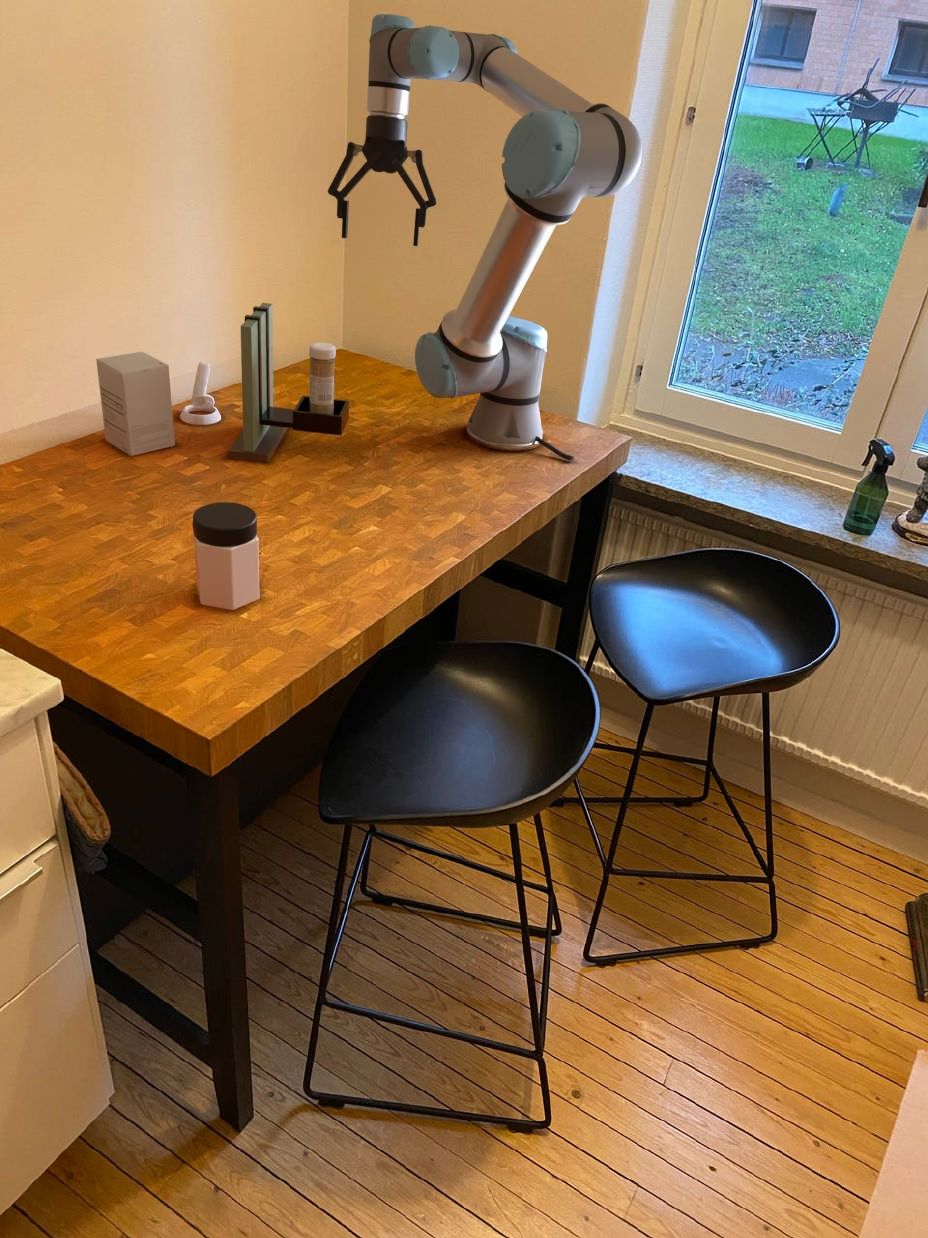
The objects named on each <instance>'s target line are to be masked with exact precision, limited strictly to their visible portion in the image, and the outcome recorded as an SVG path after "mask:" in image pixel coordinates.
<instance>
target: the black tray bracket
mask: <svg viewBox="0 0 928 1238" xmlns="http://www.w3.org/2000/svg"><path fill="white" fill-rule="evenodd" d="M256 310H257V311H266V373H267V409H266V410H265V412H264V413H263V415H262V356H261V316H252V314H253V313H254V312H255V311H256ZM252 314H245V316H244V322H245V321H246V320H247V319H250V320H258V373H259V425H268V426H277V427H286V428H288V429H292V431H299V432H306V433H315V434H324V435H331V436H340V437H341V436H342V435H343V432H344V430H345V428H346V426H347V423H348V421H349V413H350V401H349V400H345V399H344V400H343V399H336V398H334V410H333V415H329V414H321V413H312V412H310V395H301V397H300V399H299V401H298V402H297V404H296V405H295V407H294V408H288V407H287V408H286V407H278V406H274V407H270V366H269V308H266V307H259V306H257V305H255V306H253V307H252Z"/></svg>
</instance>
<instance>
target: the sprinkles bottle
mask: <svg viewBox="0 0 928 1238" xmlns="http://www.w3.org/2000/svg"><path fill="white" fill-rule="evenodd" d="M308 355H309V359H310V360H309V361H310V362H309V363H310V365H309V366H310V368H309V369H310V371H309V396H310V412H312V413H321V414H329V415H333V410H334V399H335V363H336V362H335V361H336V356H337V348H336V345H335V344H332V343H329V342H324V341H323V342H313V343H311V344H310V345H309V353H308Z"/></svg>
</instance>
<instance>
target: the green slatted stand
mask: <svg viewBox="0 0 928 1238" xmlns="http://www.w3.org/2000/svg"><path fill="white" fill-rule="evenodd" d="M258 307H266V308H269V366H270V407H275V406H274V404H275V403H274V401H275V400H274V304H273V303H267V302H262V303H261V304H260V305H259V306H258ZM251 315H252V316H261V356H262V415H263V413H264V412H265V410H266V409H267V373H266V311H257V310H256V311H255V312H254V313H253V312H252V313H251ZM240 351H241V352H240V357H241V359H240V361H241V392H242V393H241V394H242V395H241V396H242V398H241V399H242V401H241V402H242V431H241V432H240V433H239V435H238V437H236V439H235V441H234V442H233V443H232V445H231V447H229V449H228V451H227V452H228V459H229V460H230V459H231V460H239V461H247V462H248V461H249V462H257V463H266V464H268V463H269V462H270V460H271V458H272V457H273V455H274V453H275V452H276V450H277V448H278V446H279V444H280V443H281V441H282V440H283V438H284V436H285V434H286V433H287V431H288V429H289V428H286V427H277V426H268V425H259V373H258V320H250V319H247V320H246V321H245V320H244V322H243V323H242V324H241V325H240Z"/></svg>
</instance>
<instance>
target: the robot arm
mask: <svg viewBox="0 0 928 1238" xmlns="http://www.w3.org/2000/svg"><path fill="white" fill-rule="evenodd" d="M368 42H369V49H368V50H369V52H368V78H367V79H368V81H367V82H368V83H367V85H368V86H367V95H366V96H367V97H366V111H367V112H368V113H369V115H367V117H366V120H365V139H364V142H363V145H362V144H358V143H355V142H353V141H349V142H348V143H347V146H346V147H347V148H346V153H345V156H344V158H343V159H342V162H341V164H340V166H339V168H338V169H337V170H336V171H337V172H336V174H335V175H334V178H333V179H332V181H331V183H330V185H329V187H328V189H327V194H328V195H330V196H332V197H333V198H335V199H336V217H337V219H341V220H342V221H341V239H348V235H349V234H348V233H349V213H350V211H349V208H350V200H348V199H347V200H346V198H347V197H348V196H349V194H350V193H351V192H352V191H353V190H354V189H355V188H356V187H357V186H358V184H360V182H361V181H362V180H363V179H364V177H365V176H366V175H367V174H368V173H370V171H371V170H372V171H373V172H374V173H386V174H393V175H394V174H395V173H398V175H399V178H401V180H402V181H403V183H404V184H405V186H406V188H407V189H408V191H409V192H410V193H411V195H412V196H413V198H414V200H415V201H416V203H417V204H418V207H419V208H418V207H417V208H415V213H414V214H415V217H414V227H413V230H414V231H413V241H412V242H413V243H412V246H413V247H418V246H419V239H420V238H419V237H420V228H425V226H426V223H427V222H426V221H427V211H428V209H429V208H432V207H435V206H436V205H437V203H438V202H437V199H436V196H435V193H434V190H433V187H432V185H431V182H430V179H429V176H428V174H427V171H426V168H425V164H424V153H423V151H422V150H421V149H416V150H408V148H407V140H408V127H409V126H408V124H409V122H408V120H407V119H406V117H408V116H409V112H410V111H409V109H410V95H411V79H412V80H414V79H415V80H428V81H429V80H434V81H444V82H445V81H446V82H458V83H468V84H469V83H471V84H475V85H477V86H479V88H481V89H483V90H484V91H485V92H487V93H489V94H490V95H492V96H493V97H495V98H496V99H497V100H499V101H500V102H501V103H502V104H504V105H505V106H507V107H508V108H510V109H511V110H512V111H514V112H515V113H516V114H518V115H519V116H520V118H519V119H518V120H517V121H516V122H515V123H514V124H513V126H512V128H511V129H510V131H509V132H508V134H507V137H506V138H505V141H504V145H503V148H502V154H501V157H502V158H503V159H504V161H503V162H502V163H501V170H502V171H501V172H502V173H501V174H502V177H503V180H504V184H503V187H504V188H503V189H504V192H505V194H506V197H507V200H506V202H505V204H504V206H503V208H502V210H501V213H500V215H499V217H498V219H497V221H496V223H495V225H494V228H493V230H492V232H491V234H490V237H489V238H488V241H487V243H486V245H485V247H484V250H483V251H482V252H481V256H480V257H479V260H478V262H477V263H476V264H477V265H476V266H475V269H474V271H473V273H472V275H471V277H470V279H469V282H468V283H467V285H466V287H465V290H464V293H463V295H462V297H461V299H460V301H459V303H458V305H457V307H456V309H455V308H454V309H451V310H449V311H448V312H446V313H445V314H444V315H443V317H442V319H441V322H440V323H439V326H438V327H437V330H436V331H435V332H431V331H430V332H427V333H424V334H422V335H421V336H420V337H419V338H418V340H417V342H416V344H415V347H414V348H415V349H414V363H415V369H416V373H417V376H418V379H419V381H420V383H421V385H422V387H423V388H424V390H425V391H426V392H427V393H428V394H429V395H430V396H432V397H433V398H436V399H455V398H459V397H466V396H472V395H476V394H479V396H478V399H477V401H476V404H475V405H474V408H473V410H472V412H471V415H470V417H469V419H468V421H467V424H466V435H467V437H468V438H469V439H470V440H471V441H473V442H474V443H476V444H478V445H480V446H483V447H486V448H490V449H494V450H499V451H506V452H521V451H522V452H523V451H529V450H533V449H535V448H538V447H539V446H543V447H545V448H546V449H548V450H549V451H550V452H552V453H553V454H555V455H556V456H558V457H561V459H564V460H566V461H570V462H574V460H575V456H574V455H570V454H567V453H565V452H564V451H562V450H560V449H558V448H557V447H555V446H554V445H553V444H551V443H549V442H548V441H546V440H545V439H543V436H544V435H543V433H544V430H543V426H542V419H541V413H540V407H539V400H540V394H541V387H542V380H543V374H544V367H545V361H546V357H547V352H548V350H547V344H548V332H547V330H546V329H545V328H544V327H543V326H541V325H540V324H537V323H536V322H534V321H533V322H532V321H530V320H527V319H522V318H519V317H514V316H510V314H511V312H512V310H513V309H514V306H515V304H516V302H517V301H518V299H519V297H520V295H521V293H522V291H523V289H524V287H525V285H526V283H527V281H528V280H529V278H530V276H531V274H532V272H533V271H534V269H535V266H536V264H537V263H538V260H539V259H540V257H541V255H542V253H543V251H544V249H545V247H546V246H547V244H548V242H549V240H550V238H551V236H552V234H553V232H554V230H555V228H556V226H561V225H565V224H567V223H568V222H569V221H570V220H571V219H572V216H573V214H574V212H575V211H576V210H577V208H578V206H579V204H580V203H581V200H582V199H584V198H606V197H611V196H612V195H615V194H618V193H619V192H620V191H622V190H623V189H625V188H626V187H627V186H628V185H629V184H630V183H631V182H632V180H634V178H635V176H636V175H637V172H638V170H639V168H640V165H641V160H642V158H643V157H642V155H643V146H642V139H641V135H640V133H639V131H638V129H637V127H636V126H635V124H633V122H632V121H631V120H630V119H629V118H627V116H625V115H623V114H622V113H620V112H619V111H617V110H616V109H614V108H613V107H612V106H610V105H608V104H606V103H604V102H597V103H594V104H593V103H592V102H590V101H589V100H588V99H586V98H584V97H583V96H581V95H580V94H579V93H577V92H576V91H574V90H572V89H571V88H569V87H567V86H566V85H565V84H563V83H561V82H560V81H558V80H557V79H555V78H554V77H553V76H551V75H549V74H548V73H546V72H545V71H544V70H542V69H540V68H539V67H537V66H536V65H534V64H532V63H531V62H530V61H528V60H527V59H525V58H524V57H523V56H521V55H519V54H518V50H517V48H516V47H515V43H514V41H512V40H511V39H510V38H508V37H504V36H501V35H498V34H494V33H489V34H486V33H476V32H469V31H468V32H467V31H459V30H452V29H448V28H447V27H444V26H438V25H436V26H435V25H425V26H421V27H415V24H414V21H413V19H411V18H410V17H407V16H404V15H399V14H393V13H392V14H391V13H388V14H385V13H379V14H376V15H374V16H373V18H372V20H371V27H370V36H369V41H368ZM361 152H362V154H363V156H364V159H365V160H366V161H365V162H364V164H362V166H361V167H360V168H359V170H358V171H357V172H356V173H355V174H354V175H353V176H352V177H351V178H350V180H349V181H348V182H347V183H346V184H345V185H344V187H343V188H342V189H341V190H339V187H340V185H341V184H342V182H343V180H344V177H346V174H347V172H348V170H349V169H350V167H351V165H352V163H353V160H354V158H355V157H358V156H359V153H361ZM408 158H410V159H411V162H412V163H413V164H415V166H416V169H417V172H418V174H419V178H420V180H421V183H422V185H423V186H422V187H423V189H424V191H425V195H426V197H427V200H425V198H424V197H423V196H422V194H421V192H420V191H419V189H418V188H417V186H416V185H415V183H414V181H413V180H412V178H411V177H410V175H409V174H408V172H407V171H406V169H405V168H404V166H403V164H404V163H405V162H406V161H407V160H408Z"/></svg>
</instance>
